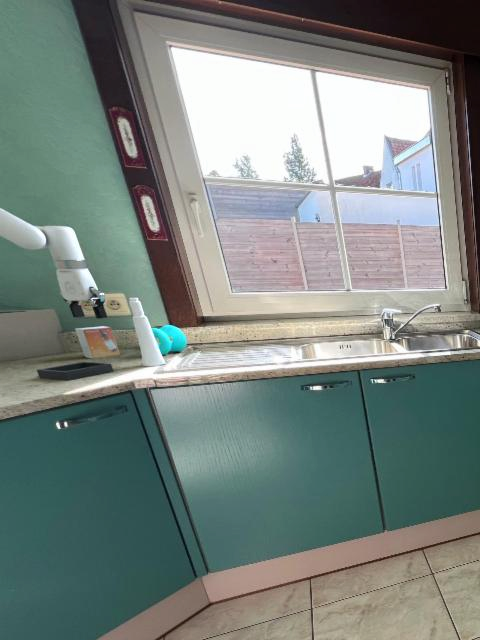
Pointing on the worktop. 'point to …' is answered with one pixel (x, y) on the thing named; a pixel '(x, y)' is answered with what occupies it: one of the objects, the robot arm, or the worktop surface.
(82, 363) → the black tray
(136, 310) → the cosmetic bottle
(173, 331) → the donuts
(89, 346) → the small box
